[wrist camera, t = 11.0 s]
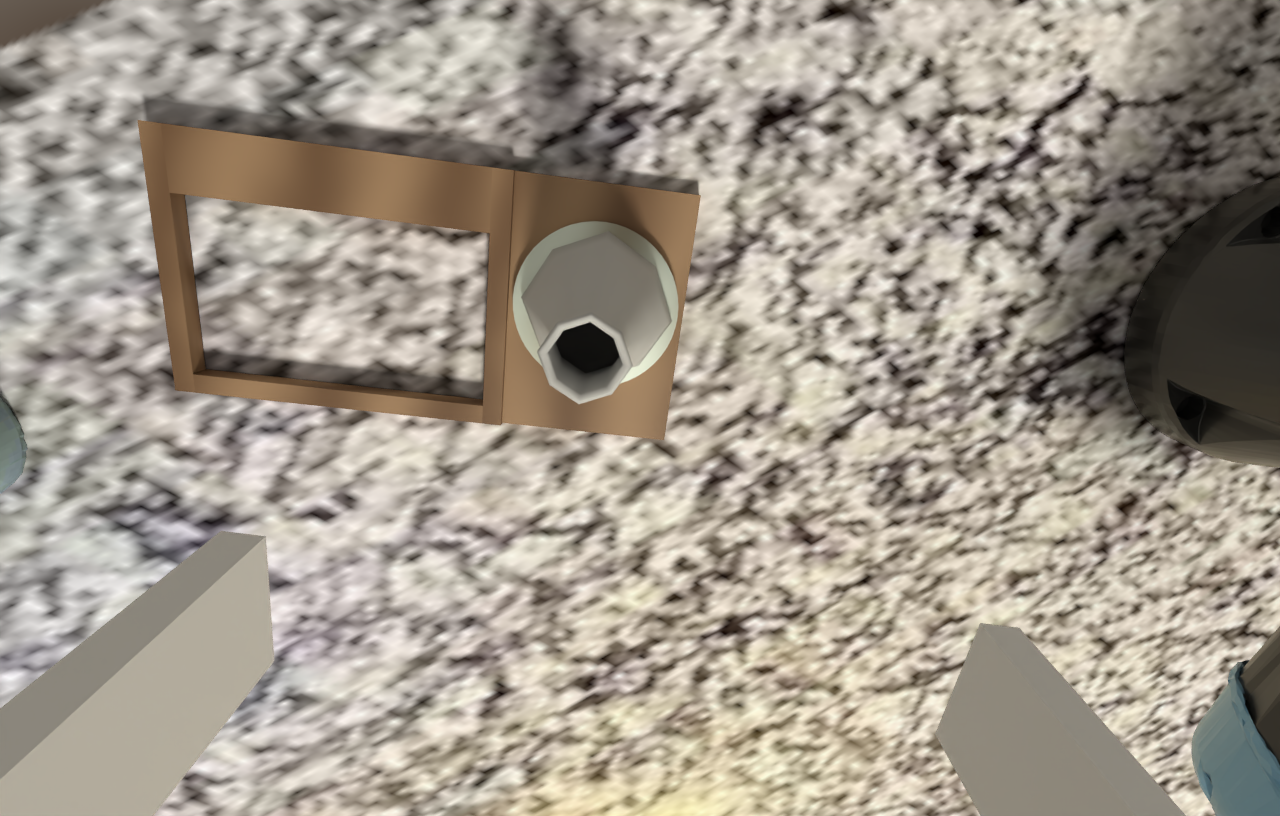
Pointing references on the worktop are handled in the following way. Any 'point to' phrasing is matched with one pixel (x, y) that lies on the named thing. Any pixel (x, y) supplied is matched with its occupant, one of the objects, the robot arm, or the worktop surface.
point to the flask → (595, 315)
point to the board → (436, 196)
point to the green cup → (10, 447)
